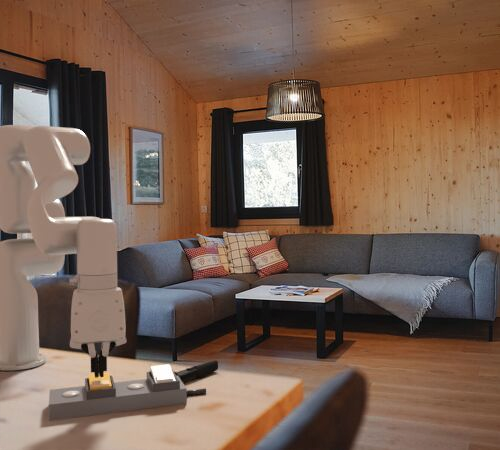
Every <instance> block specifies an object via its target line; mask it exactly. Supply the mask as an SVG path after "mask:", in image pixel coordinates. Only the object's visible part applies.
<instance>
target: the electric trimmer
mask: <svg viewBox="0 0 500 450" xmlns="http://www.w3.org/2000/svg"><path fill="white" fill-rule="evenodd" d="M218 370H219V361H218V360H217V359H216V360H212V361H211V360H210V361H208V362H205V363H201V364H198V365H193V366H192V367H189V368H188V367H187V368H185V369H183V370H179V371H177V372H176V371H173V372H174V373H175V375H176V376H178V377H179V378H180V379H181V381H182V382H183V384H185V383H187V382H189V381H192V380H195V379H202V378H204V377H206V376H208V375H210V374H212V373H214V372H216V371H218Z"/></svg>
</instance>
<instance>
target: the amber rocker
mask: <svg viewBox="0 0 500 450" xmlns="http://www.w3.org/2000/svg"><path fill="white" fill-rule="evenodd" d="M110 376H111V375H110V372H109V371H104V377H100V375H99V377H98V378H95V374H94V373H88V378H89V386H90V390H99V389H108V388H112V385H111V380H110Z"/></svg>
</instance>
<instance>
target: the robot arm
mask: <svg viewBox="0 0 500 450" xmlns="http://www.w3.org/2000/svg"><path fill="white" fill-rule="evenodd" d="M90 154H91V143H90V140H89V138H88V136H87V134H85V133H84V132H83V131H82V130H80V129H78V128H74V127H63V126H62V127H61V126H53V125H52V126H50V125H40V126H39V125H38V126H33V125H24V124H23V125H22V124H21V125H19V124H7V125H1V126H0V230H1V231H3V233H7V234H12V235H13V234H15V235H16V234H17V235H18V234H20V235H22V234H31V236H32V238H25V237H24V238H10V239H6V240H2V241H0V371H3V372H4V371H8V372H10V371H11V372H12V371H20V370H21V371H22V370H27V369H31V368H36V367H39V366H42V365H43V364H45V363H46V361H47V357H46V355H44V354H43V353H40V337H39V336H40V333H39V331H40V330H39V329H40V328H39V297H38V292H37V290H36V288H35V287H34V286H33V284H32V283H31V282H30V281H29V280H28V277H32V276H33V277H34V276H43V275H51V274H56V273H58V272H60V271H61V270H62V269H63V267H64V265H65V259H66V258H65V257H66V255H73V254H75V255H76V275H75V276H73V277H69V286H70V285H73V286H75V287H77V288H76V289H74V290H73V292H72V293H73V294H72V298H71V307H70V308H71V309H70V310H71V311H70V313H71V314H70V335H71V336H70V341H69V347H70V348H71V349H77V350H82V351H83V352H85V354H87V355H88V356H89V357H90V372H91V373H90V374H95V378H98V377H99V375H100V377H104V373H105V372H108V355H109V354H110V353H111V352H112V350H113V349H114V348H116V347H118V346H121V345H124V344H126V343H127V340H128V339H127V336H126V331H127V330H126V311H125V300H124V295H123V289H122V288H121V287H118V239H117V238H118V236H117V235H118V234H117V233H118V232H117V230H118V229H117V224H116V222H115V221H114V220H113V219H110V218H100V217H97V216H90V215H89V216H66V212H65V207H64V206H63V203H62V201H61V200H60V199H61V198H64V197H65V196H67V195H69V194H71V193H72V192H73V191H74V190H75V188H76V187H77V186H78V183H79V175H78V173H77V171H76V168H75V166H81V165H84V164H85V163H87V162H88V160H89V158H90ZM26 162H28V164H29V166H28V164H26ZM35 183H36V184H37V186H36V184H35ZM35 186H36V187H35ZM96 343H97V344H98V343H101V349H100V351H99V353H98V351H97V350H96V347H95V344H96Z"/></svg>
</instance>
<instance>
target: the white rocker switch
mask: <svg viewBox="0 0 500 450" xmlns="http://www.w3.org/2000/svg"><path fill="white" fill-rule="evenodd" d="M171 369H172V367H171V364H170V363H169V364H160V365H151V366H150V370H149V372H150V371H151V374H152V377H153V381H154V383H161V382H170V381H176V380H175V377H174V375H173V372H174V371H173V372H172V370H173V369H172V370H171Z"/></svg>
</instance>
